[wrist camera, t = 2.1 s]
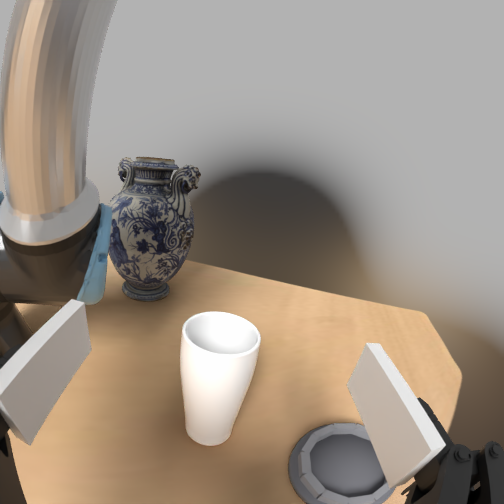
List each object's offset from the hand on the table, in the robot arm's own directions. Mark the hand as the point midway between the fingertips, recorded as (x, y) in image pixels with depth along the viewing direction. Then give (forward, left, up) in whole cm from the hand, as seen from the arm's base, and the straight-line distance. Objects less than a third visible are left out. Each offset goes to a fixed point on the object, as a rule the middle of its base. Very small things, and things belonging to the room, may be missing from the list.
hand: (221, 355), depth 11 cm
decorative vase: (-46, +2, -20) cm, 50 cm away
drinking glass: (-9, +4, -20) cm, 23 cm away
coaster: (+3, +16, -20) cm, 26 cm away
